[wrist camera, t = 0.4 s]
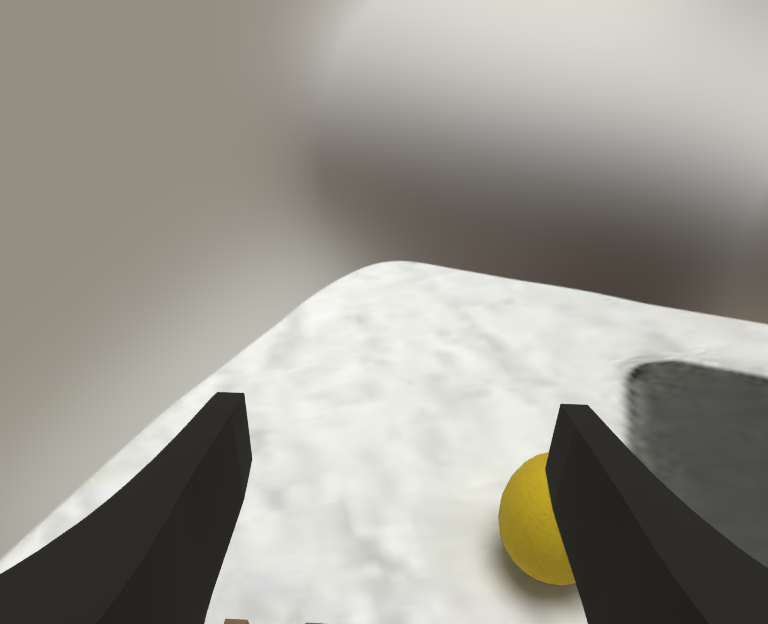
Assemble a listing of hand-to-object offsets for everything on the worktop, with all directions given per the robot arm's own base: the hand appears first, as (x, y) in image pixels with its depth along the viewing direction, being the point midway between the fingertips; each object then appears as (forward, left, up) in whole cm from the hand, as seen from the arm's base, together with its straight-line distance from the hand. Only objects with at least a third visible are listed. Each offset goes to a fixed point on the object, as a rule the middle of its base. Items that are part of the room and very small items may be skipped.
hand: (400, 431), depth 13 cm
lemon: (+7, -8, -20) cm, 22 cm away
